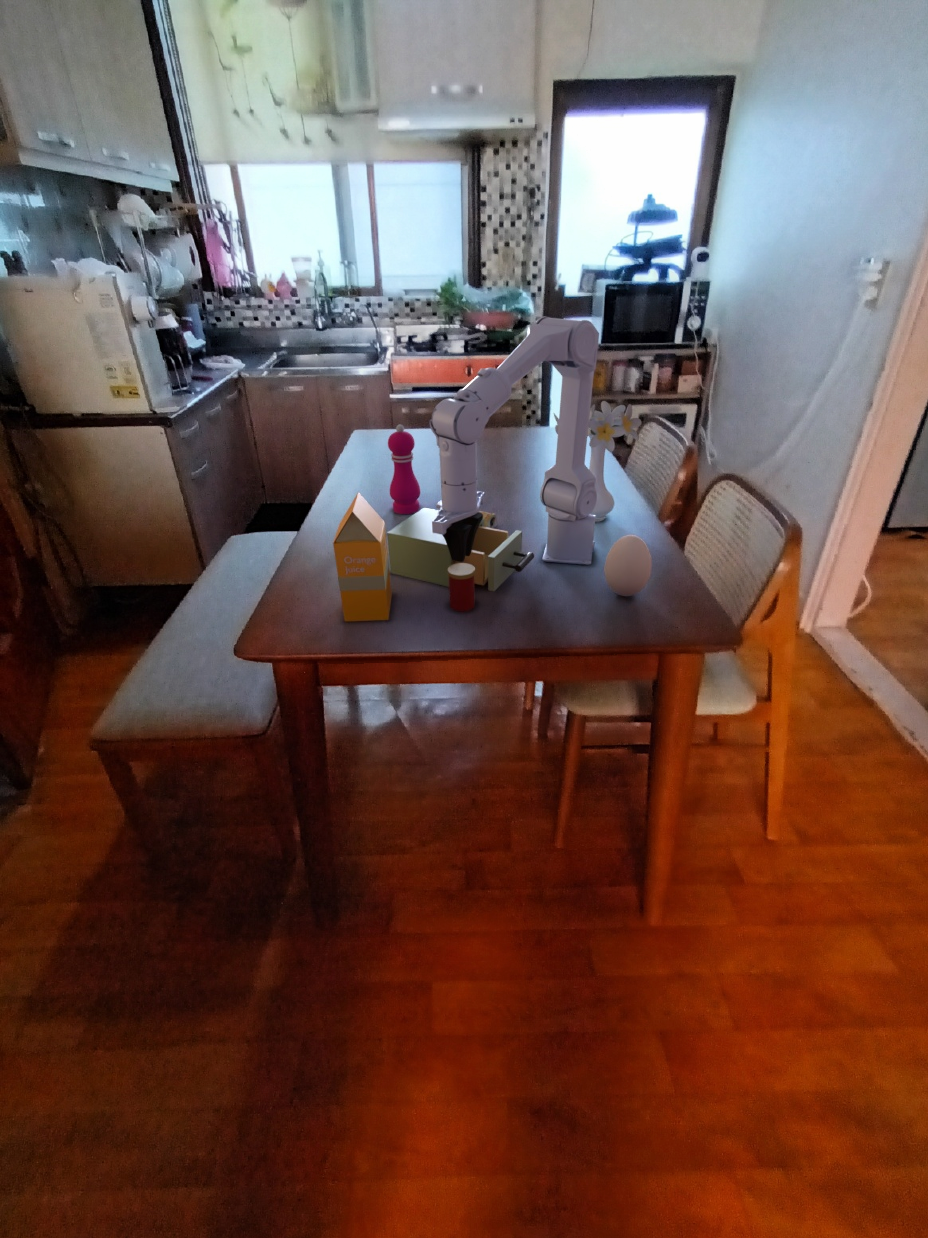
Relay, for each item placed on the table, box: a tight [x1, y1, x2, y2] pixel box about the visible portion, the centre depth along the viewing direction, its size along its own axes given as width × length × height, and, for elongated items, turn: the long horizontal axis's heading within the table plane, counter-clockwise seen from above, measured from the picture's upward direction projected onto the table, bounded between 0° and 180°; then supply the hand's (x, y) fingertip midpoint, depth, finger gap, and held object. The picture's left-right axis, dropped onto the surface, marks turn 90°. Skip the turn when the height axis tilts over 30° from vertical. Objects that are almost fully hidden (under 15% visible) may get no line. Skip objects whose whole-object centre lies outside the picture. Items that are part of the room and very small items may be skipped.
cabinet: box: [386, 507, 484, 588], centre depth 121 cm, size 14×14×9 cm
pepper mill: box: [387, 423, 421, 515], centre depth 143 cm, size 7×7×20 cm
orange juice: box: [332, 491, 393, 622], centre depth 104 cm, size 8×9×20 cm
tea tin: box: [448, 563, 476, 612], centre depth 108 cm, size 5×5×7 cm
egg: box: [603, 534, 653, 597], centre depth 109 cm, size 8×8×11 cm
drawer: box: [453, 526, 535, 592], centre depth 116 cm, size 16×12×7 cm
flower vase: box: [553, 400, 642, 523], centre depth 135 cm, size 13×18×25 cm
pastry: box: [478, 510, 499, 529], centre depth 137 cm, size 9×7×4 cm
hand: (461, 557), depth 105 cm, fingers closed
